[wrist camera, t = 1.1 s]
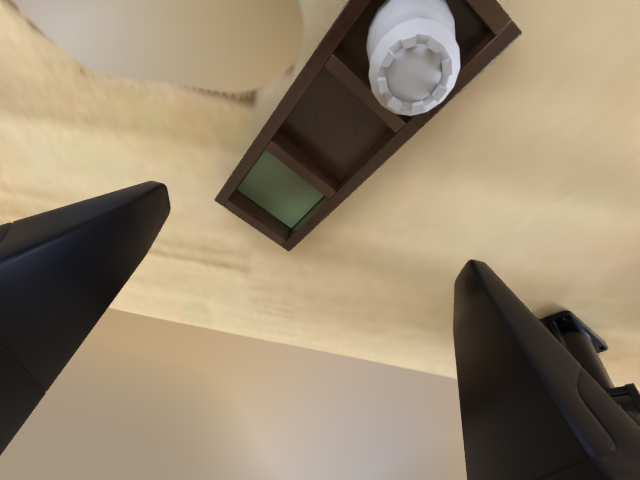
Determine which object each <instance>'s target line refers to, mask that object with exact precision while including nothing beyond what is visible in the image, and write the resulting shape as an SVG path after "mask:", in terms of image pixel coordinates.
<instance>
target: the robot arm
mask: <svg viewBox="0 0 640 480" xmlns="http://www.w3.org/2000/svg"><path fill="white" fill-rule="evenodd" d="M169 213H170V201H169V196H168V190H167V187H166V185H164V184H163V183H159V182H155V181H148V182H145V183H141V184H138V185H135V186H131V187H128V188H125V189H121V190H118V191H115V192H111V193H108V194H104V195H101V196H98V197H94V198H91V199H88V200H84V201H81V202H78V203H74V204H71V205H67V206H64V207H61V208H57V209H54V210H51V211H47V212H44V213H41V214H37V215H34V216H30V217H27V218H24V219H20V220H17V221H14V222H13V223H7V224H3V225H0V455H1V454H2V453H3V451H4V450H5V448H6V447H7V446H8V444H9V443H10V442H11V440H12V439H13V437H14V436H15V435H16V433H17V432H18V431H19V429H20V428H21V426H22V425H23V424H24V422H25V421H26V420H27V418H28V417H29V416H30V414H31V413H32V411H33V410H34V409H35V407H36V406H37V404H38V403H39V402H40V400H41V399H42V398H43V396H44V395H45V393H46V392H45V391H47V390H48V389H49V388H50V386H51V385H52V384H53V382H54V381H55V379H56V378H57V376H58V375H59V374H60V373H61V371H62V370H63V368H64V367H65V366H66V364H67V363H68V362H69V360H70V359H71V357H72V356H73V355H74V353H75V352H76V351H77V349H78V348H79V346H80V345H81V344H82V342H83V341H84V339H85V338H86V337H87V335H88V334H89V333H90V331H91V330H92V329H93V327H94V326H95V324H96V323H97V322H98V320H99V319H100V318H101V316H102V315H103V314H104V312H105V311H106V309H107V308H108V307H109V305H110V304H111V303H112V301H113V300H114V298H115V297H116V296H117V294H118V293H119V292H120V290H121V289H122V287H123V286H124V285H125V283H126V282H127V281H128V279H129V278H130V276H131V275H132V274H133V272H134V271H135V270H136V268H137V267H138V265H139V264H140V263H141V261H142V260H143V258H144V257H145V256H146V254H147V252H148V251H149V249H150V248H151V246H152V244H153V242H154V240H155V239H156V237H157V235H158V233H159V232H160V230H161V228H162V226H163V224H164V223H165V221H166V219H167V217H168V215H169ZM453 335H454V347H455V357H456V367H457V378H458V387H459V399H460V409H461V419H462V429H463V440H464V450H465V461H466V471H467V480H640V392H639V391H638V389H637V388H636V386H635V385H634V383H632V384H626V385H625V386H622V387H616V388H615V387H614V385H613V383H612V381H611V379H610V377H609V375H608V373H607V371H606V369H605V367H604V366H603V364H602V362H601V360H600V358H599V356H598V354H597V353H600V352H603V351H606V350H607V349H608V346H607V344H606V343H605V342H604V341H603V340H602V339H601V338H600V337H599V336H598V335H596V334H595V333H594V332H593V331H592V330H591V329H590V328H589V327H588V326H586V325H585V324H584V323H583V322H582V321H581V320H580V319H579V318H578V317H576V316H575V315H574V314H573V313H572V312H570V311H562V312H559V313H556V314H554V315H551V316H549V317H546V318H543V319H541V320H538V319H537V318H536V317H535V316H534V315H533V314H532V312H531V311H530V310H529V309H528V308H527V307H526V306H525V305H524V304H523V303H522V302H521V301H520V300H519V298H518V297H517V296H516V295H515V294H514V293H513V292H512V291H511V290H510V289H509V288H508V287H507V286H506V284H505V283H504V282H503V281H502V280H501V279H500V278H499V277H498V276H497V275H496V274H495V273H494V272H493V270H492V269H491V268H490V267H489V266H488V265H487V264H486V263H484V262H481V261H477V260H473V259H472V260H469V261H468V262H467V263H466V264H465V266H464V267H463V269H462V270H461V272H460V274H459V275H458V277H457V278H456V281H455V285H454V318H453Z"/></svg>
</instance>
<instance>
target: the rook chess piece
mask: <svg viewBox="0 0 640 480" xmlns="http://www.w3.org/2000/svg"><path fill="white" fill-rule="evenodd" d="M366 46H367V47H366V49H367V54H368V59H369V64H370V69H369V79H370V84H371V89H372V92H373V94H374V95H375V97H376V98H377V100H378V101H379V103H380V104H381V105H382V106H383V107H385V108H386V109H388V110H390V111H391V112H393V113H395V114H401V115H408V116H412V115H416V114H420V113H424V112H428V111H429V110H431V109H432V108H434V107H435V106H437V105H438V104H440V103H441V102H442V101H443V100H444V99H445V98H446V96H447V95H448V94H449V92H450V91H451V90H452V88H453V87H454V85H455V82H456V79H457V76H458V73H459V70H460V51H459V46H458V44H457V42H456V39H455V21H454V16H453V14H452V12H451V10H450V8H449V6H448V5H447V3H446V1H445V0H387V1H386V2H384V3H383V4H382V5H381V6H380V7H379V8H378V10H377V12H376V14H375V16H374V18H373V20H372V22H371V24H370V25H369V31H368V37H367V44H366Z"/></svg>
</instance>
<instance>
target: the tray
mask: <svg viewBox="0 0 640 480" xmlns="http://www.w3.org/2000/svg"><path fill="white" fill-rule="evenodd" d="M386 1H387V0H349V1H348V2H347V4H346V5H345V7H344V8H343V10H342V11H341V13H340V14H339V16H338V17H337V19H336V20H335V22H334V23H333V25H332V26H331V28H330V29H329V31H328V32H327V34H326V35H325V36H324V38H323V39H322V41H321V42H320V44H319V45H318V47H317V48H316V50H315V51H314V53H313V54H312V56H311V57H310V59H309V60H308V62H307V63H306V65H305V66H304V68H303V69H302V71H301V72H300V74H299V75H298V77H297V78H296V79H295V81H294V82H293V84H292V85H291V87H290V88H289V90H288V91H287V93H286V94H285V96H284V97H283V99H282V100H281V102H280V103H279V105H278V106H277V108H276V109H275V111H274V112H273V114H272V115H271V117H270V118H269V120H268V121H267V123H266V124H265V125H264V127H263V128H262V130H261V131H260V133H259V134H258V136H257V137H256V139H255V140H254V142H253V143H252V145H251V146H250V148H249V149H248V151H247V152H246V154H245V155H244V157H243V158H242V160H241V161H240V163H239V164H238V166H237V167H236V169H235V170H234V171H233V173H232V174H231V176H230V177H229V179H228V180H227V182H226V183H225V185H224V186H223V188H222V189H221V191H220V192H219V194H218V195H217V197H216V198H215V201H216V202H218V203H219V204H221V205H222V206H224V207H225V208H226V209H228V210H229V211H231V212H232V213H234V214H235V215H237V216H238V217H240V218H241V219H242V220H244V221H245V222H247V223H248V224H250V225H251V226H253V227H254V228H255V229H257V230H258V231H260V232H261V233H263V234H264V235H266V236H267V237H269V238H270V239H271V240H273V241H274V242H276V243H277V244H279V245H280V246H282V247H283V248H285V249H286V250H287V251H290V250H291V249H293V248H294V247H295V246H296V245H297V244H298V243H299V242H300V241H301V240H302V239H303V238H304V237H305V236H306V235H308V234H309V233H310V232H311V231H312V230H313V229H314V228H315V227H316V226H317V225H318V224H319V223H320V222H321V221H322V220H324V219H325V218H326V217H327V216H328V215H329V214H330V213H331V212H332V211H333V210H334V209H335V208H336V207H337V206H338V205H340V204H341V203H342V202H343V201H344V200H345V199H346V198H347V197H348V196H349V195H350V194H351V193H352V192H353V191H355V190H356V189H357V188H358V187H359V186H360V185H361V184H362V183H363V182H364V181H365V180H366V179H367V178H368V177H369V176H371V175H372V174H373V173H374V172H375V171H376V170H377V169H378V168H379V167H380V166H381V165H382V164H383V163H384V162H385V161H387V160H388V159H389V158H390V157H391V156H392V155H393V154H394V153H395V152H396V151H397V150H398V149H399V148H400V147H401V146H403V145H404V144H405V143H406V142H407V141H408V140H409V139H410V138H411V137H412V136H413V135H414V134H415V133H416V132H418V131H419V130H420V129H421V128H422V127H423V126H424V125H425V124H426V123H427V122H428V121H429V120H430V119H431V118H432V117H434V116H435V115H436V114H437V113H438V112H439V111H440V110H441V109H442V108H443V107H444V106H445V105H446V104H447V103H448V102H450V101H451V100H452V99H453V98H454V97H455V96H456V95H457V94H458V93H459V92H460V91H461V90H462V89H463V88H465V87H466V86H467V85H468V84H469V83H470V82H471V81H472V80H473V79H474V78H475V77H476V76H477V75H478V74H479V73H481V72H482V71H483V70H484V69H485V68H486V67H487V66H488V65H489V64H490V63H491V62H492V61H493V60H494V59H495V58H497V57H498V56H499V55H500V54H501V53H502V52H503V51H504V50H505V49H506V48H507V47H508V46H509V45H510V44H511V43H513V42H514V41H515V40H516V39H517V38H518V37H519V36H520V35H521V34H522V32H521V30H520V29H519V28H518V27H517V25H516V24H515V23H514V22H513V21H512V20H511V18H510V17H509V15H508V14H507V13H506V12H505V10H504V9H503V8H502V7H501V5H500V4H499V3H498V2H497V1H496V0H445V1H446V3H447V5H448V6H449V8H450V10H451V12H452V14H453V16H454V21H455V39H456V42H457V44H458V46H459V51H460V70H459V73H458V76H457V79H456V82H455V85H454V87H453V88H452V90H451V91H450V92H449V94H448V95H447V96H446V98H445V99H444V100H443V101H442V102H441V103H440V104H438V105H437V106H435V107H434V108H432V109H431V110H429V111H428V112H424V113H420V114H416V115H412V116H408V115H401V114H395V113H393V112H391V111H390V110H388V109H386V108H385V107H383V106H382V105H381V104H380V103H379V101H378V100H377V98H376V97H375V95H374V94H373V92H372V89H371V84H370V79H369V69H370V64H369V59H368V54H367V49H366V47H367V46H366V44H367V37H368V31H369V25H370V24H371V22H372V20H373V18H374V16H375V14H376V12H377V10H378V8H379V7H380V6H381V5H382V4H383V3H384V2H386Z"/></svg>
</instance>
